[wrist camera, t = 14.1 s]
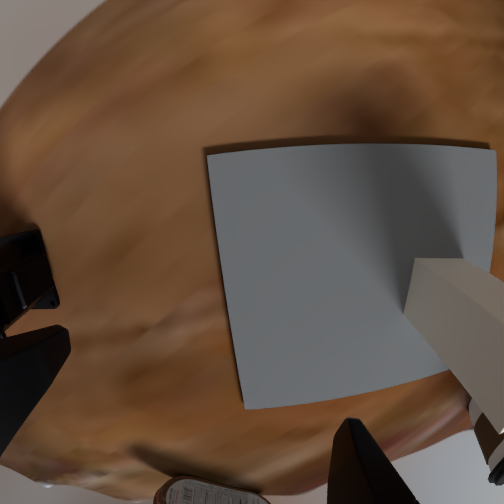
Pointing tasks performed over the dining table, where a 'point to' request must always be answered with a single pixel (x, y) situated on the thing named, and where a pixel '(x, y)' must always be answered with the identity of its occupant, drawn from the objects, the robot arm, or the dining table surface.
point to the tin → (203, 493)
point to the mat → (340, 259)
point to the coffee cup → (489, 443)
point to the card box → (463, 326)
